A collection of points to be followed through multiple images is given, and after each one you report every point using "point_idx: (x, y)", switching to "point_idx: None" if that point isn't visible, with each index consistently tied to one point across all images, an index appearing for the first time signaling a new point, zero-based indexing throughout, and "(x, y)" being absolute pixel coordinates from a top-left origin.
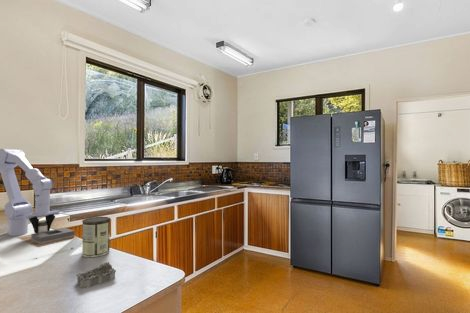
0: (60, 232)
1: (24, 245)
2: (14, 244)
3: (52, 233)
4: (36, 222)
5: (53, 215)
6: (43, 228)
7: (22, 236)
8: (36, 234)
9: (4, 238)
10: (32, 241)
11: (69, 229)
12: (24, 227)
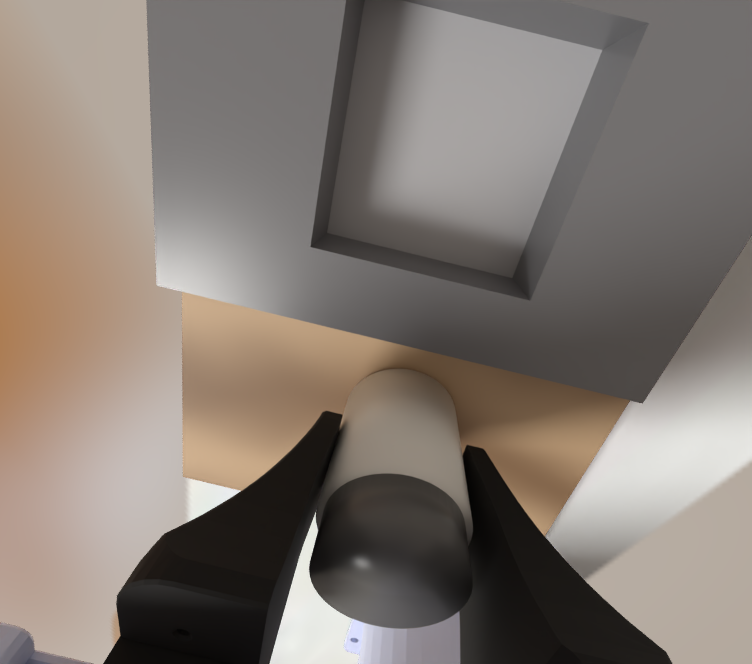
0: (337, 104)
1: None
2: (673, 437)
3: (393, 254)
4: (567, 594)
5: (133, 645)
6: (420, 443)
7: None
8: (659, 308)
9: None
10: None
11: (156, 39)
12: (424, 661)
